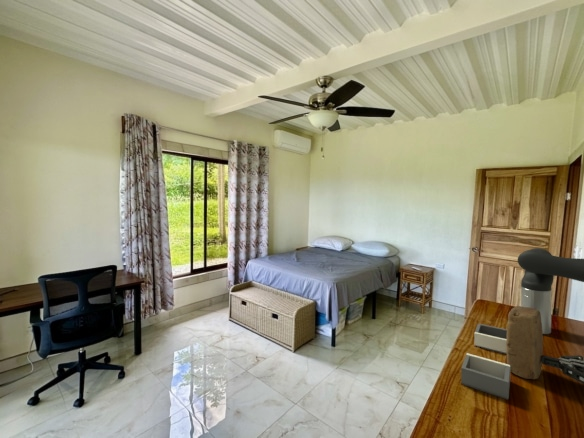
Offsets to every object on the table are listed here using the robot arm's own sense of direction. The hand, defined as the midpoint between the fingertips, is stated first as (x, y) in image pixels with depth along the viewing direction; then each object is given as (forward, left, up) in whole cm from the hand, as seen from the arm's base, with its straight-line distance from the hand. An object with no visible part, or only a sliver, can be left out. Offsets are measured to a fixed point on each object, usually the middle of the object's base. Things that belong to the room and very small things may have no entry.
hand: (541, 359), depth 83 cm
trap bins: (-5, -12, -5) cm, 14 cm away
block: (-2, -3, -6) cm, 7 cm away
